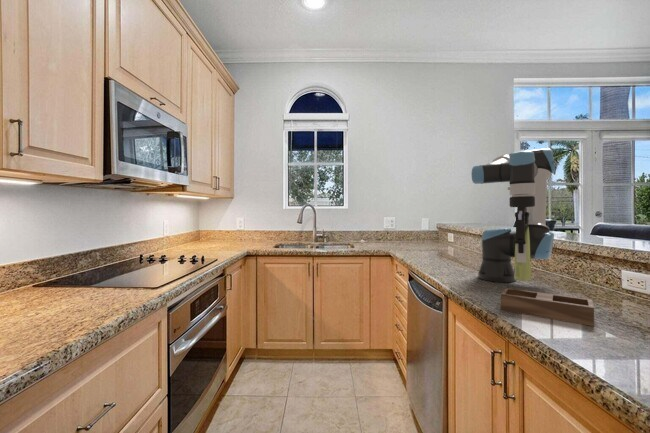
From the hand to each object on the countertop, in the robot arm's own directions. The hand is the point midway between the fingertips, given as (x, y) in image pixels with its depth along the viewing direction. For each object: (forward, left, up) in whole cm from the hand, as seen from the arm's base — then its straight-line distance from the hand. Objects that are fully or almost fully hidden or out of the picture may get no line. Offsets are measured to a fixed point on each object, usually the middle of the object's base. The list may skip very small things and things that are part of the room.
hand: (522, 260), depth 105 cm
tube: (0, 0, -7) cm, 7 cm away
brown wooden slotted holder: (+14, +7, -14) cm, 20 cm away
